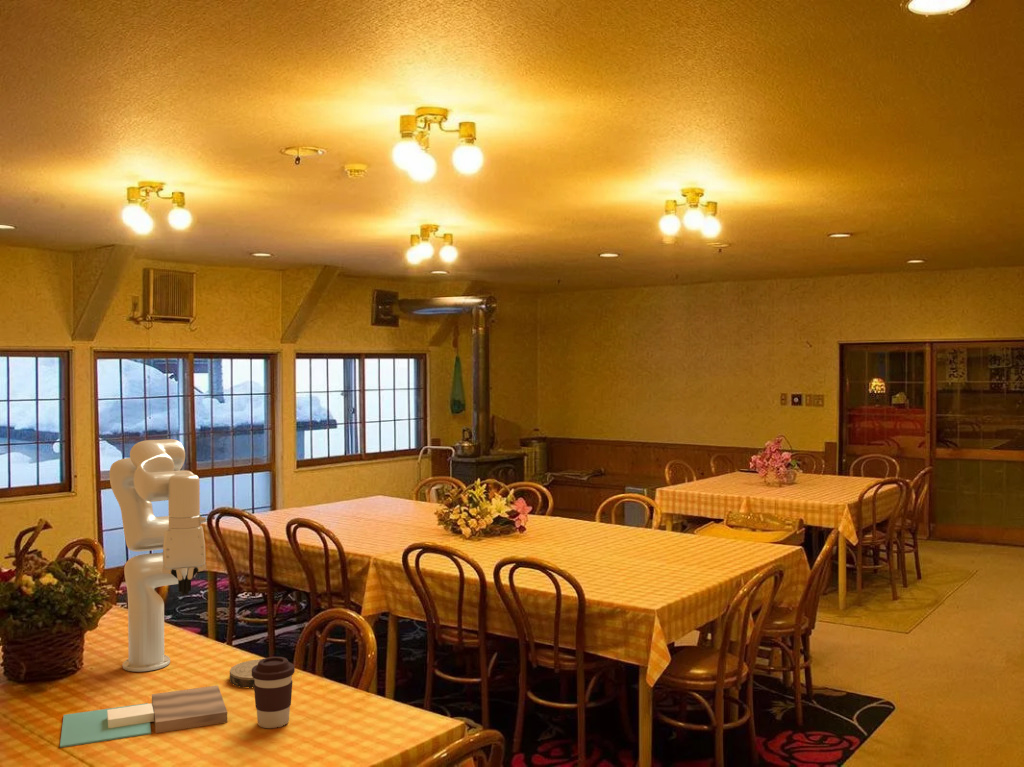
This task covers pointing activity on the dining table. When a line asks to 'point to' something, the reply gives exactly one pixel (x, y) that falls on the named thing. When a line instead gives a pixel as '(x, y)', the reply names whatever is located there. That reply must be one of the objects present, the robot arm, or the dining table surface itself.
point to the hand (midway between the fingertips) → (184, 594)
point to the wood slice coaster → (243, 674)
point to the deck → (188, 708)
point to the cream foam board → (130, 715)
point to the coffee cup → (273, 691)
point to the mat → (96, 728)
